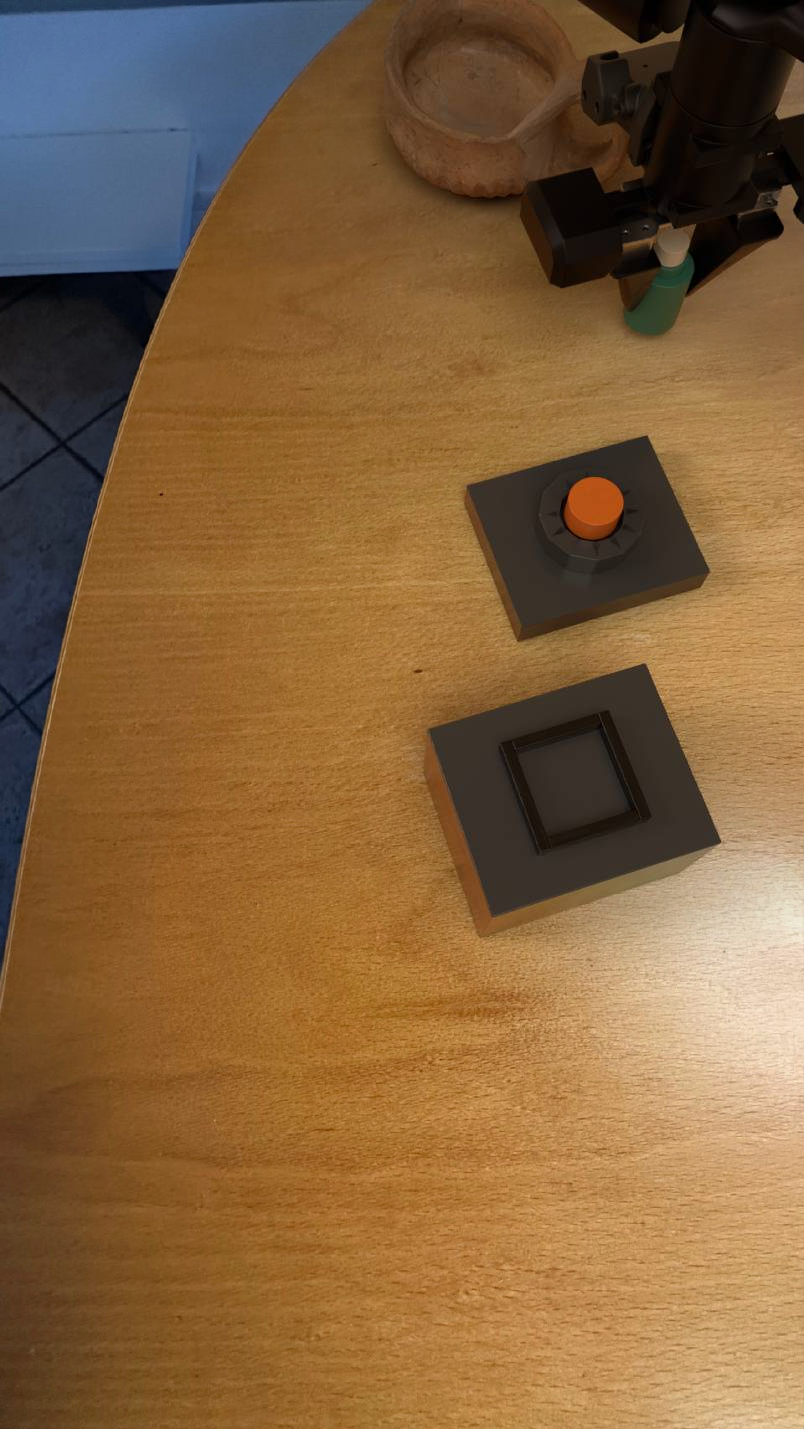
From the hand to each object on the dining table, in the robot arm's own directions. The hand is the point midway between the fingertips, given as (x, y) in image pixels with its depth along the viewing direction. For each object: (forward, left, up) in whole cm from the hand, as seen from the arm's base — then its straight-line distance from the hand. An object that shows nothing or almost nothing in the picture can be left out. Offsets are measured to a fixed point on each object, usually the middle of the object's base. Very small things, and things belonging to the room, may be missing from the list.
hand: (655, 298), depth 69 cm
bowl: (+4, -17, -3) cm, 18 cm away
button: (+10, +14, +1) cm, 17 cm away
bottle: (0, 0, -2) cm, 2 cm away
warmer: (+18, +30, -3) cm, 35 cm away
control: (+10, +14, -3) cm, 17 cm away
